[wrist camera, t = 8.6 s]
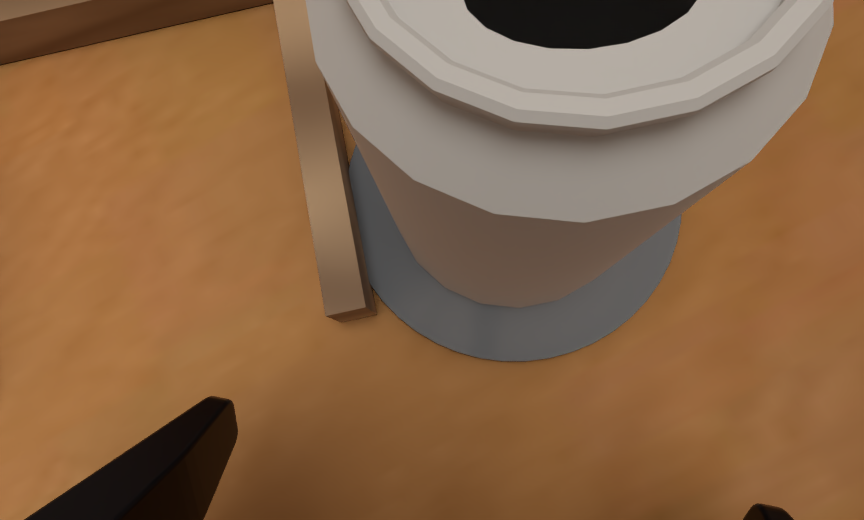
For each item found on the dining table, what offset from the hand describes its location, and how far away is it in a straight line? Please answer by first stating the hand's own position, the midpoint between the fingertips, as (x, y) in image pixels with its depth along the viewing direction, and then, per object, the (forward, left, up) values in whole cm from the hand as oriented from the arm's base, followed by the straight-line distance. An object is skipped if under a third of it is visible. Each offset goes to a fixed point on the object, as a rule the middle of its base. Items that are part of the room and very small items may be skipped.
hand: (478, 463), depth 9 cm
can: (+6, +5, -7) cm, 10 cm away
